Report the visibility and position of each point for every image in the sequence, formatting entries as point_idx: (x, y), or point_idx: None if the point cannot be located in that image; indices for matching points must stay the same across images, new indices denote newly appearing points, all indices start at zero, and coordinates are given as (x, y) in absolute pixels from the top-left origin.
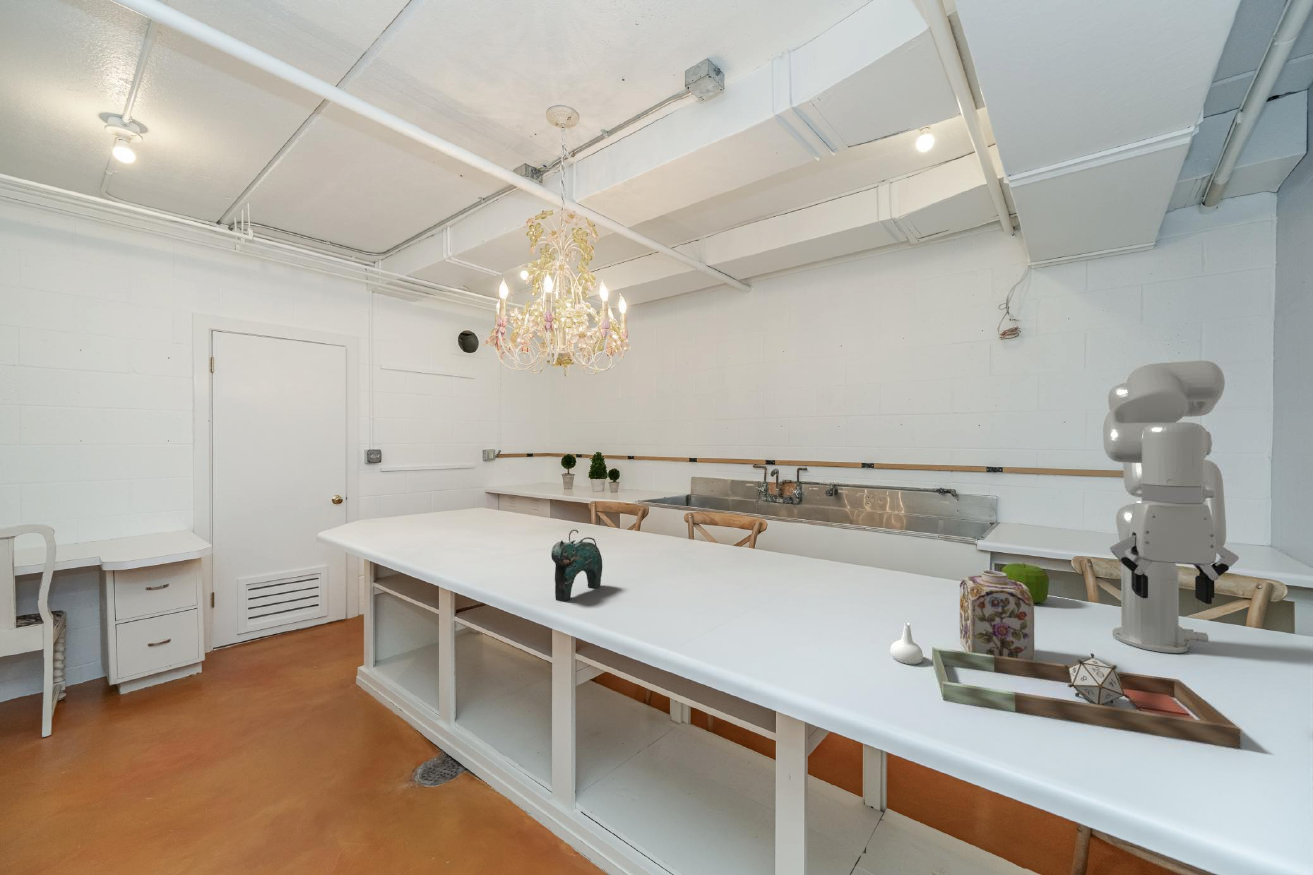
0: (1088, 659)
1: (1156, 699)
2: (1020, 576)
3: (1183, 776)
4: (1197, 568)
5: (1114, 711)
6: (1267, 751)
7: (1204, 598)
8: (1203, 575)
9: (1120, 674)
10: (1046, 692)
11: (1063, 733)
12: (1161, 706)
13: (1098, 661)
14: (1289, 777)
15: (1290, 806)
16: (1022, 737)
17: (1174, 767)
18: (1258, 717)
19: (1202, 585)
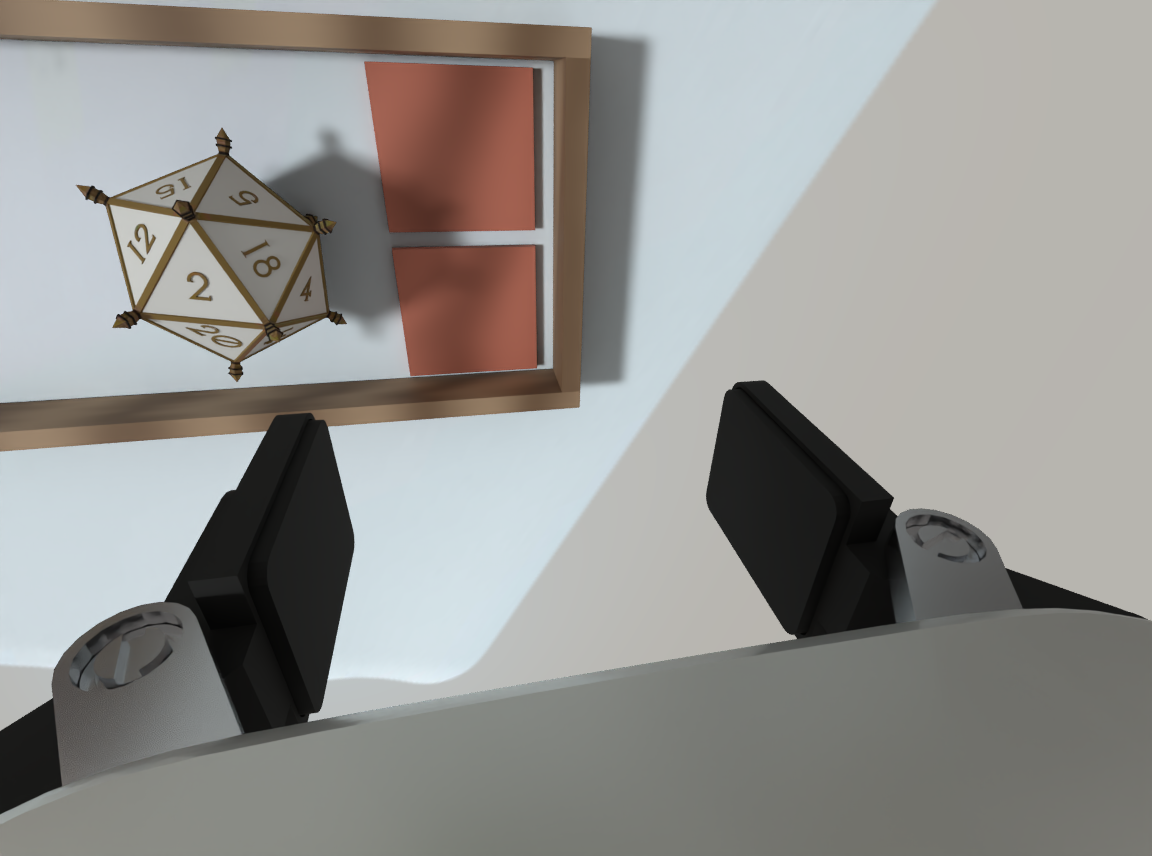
0: (167, 257)
1: (473, 137)
2: None
3: (396, 545)
4: (896, 622)
5: None
6: (623, 370)
7: (719, 512)
8: (843, 628)
9: (360, 48)
10: (76, 208)
11: (160, 485)
12: (468, 202)
13: (213, 266)
14: (597, 465)
15: (537, 556)
16: (61, 546)
17: (390, 522)
18: (738, 148)
19: (771, 561)
